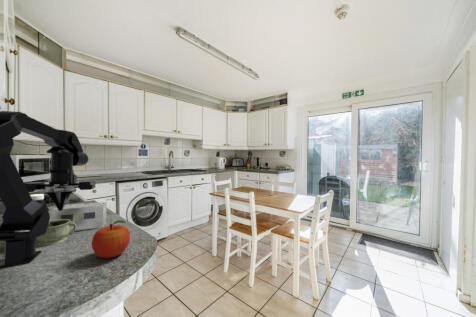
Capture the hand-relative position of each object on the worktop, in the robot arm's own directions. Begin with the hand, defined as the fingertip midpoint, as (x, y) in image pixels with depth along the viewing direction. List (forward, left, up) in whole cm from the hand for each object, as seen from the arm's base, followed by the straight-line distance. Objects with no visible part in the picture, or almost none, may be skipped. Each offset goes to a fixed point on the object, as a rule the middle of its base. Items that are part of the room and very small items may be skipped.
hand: (60, 210), depth 67 cm
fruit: (-21, -18, -10) cm, 29 cm away
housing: (+11, -3, -10) cm, 15 cm away
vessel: (-1, +1, -10) cm, 10 cm away
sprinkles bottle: (+18, +13, -10) cm, 24 cm away
